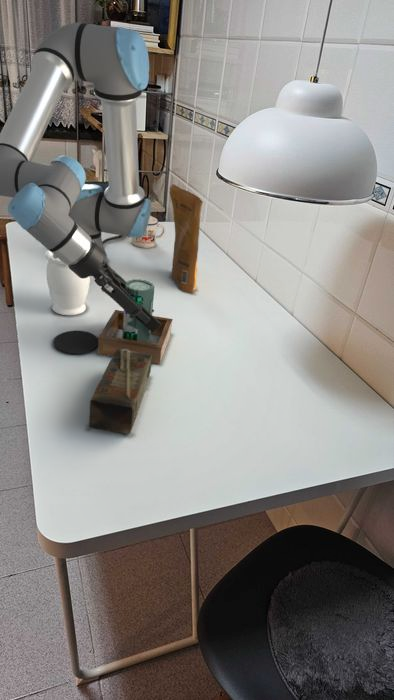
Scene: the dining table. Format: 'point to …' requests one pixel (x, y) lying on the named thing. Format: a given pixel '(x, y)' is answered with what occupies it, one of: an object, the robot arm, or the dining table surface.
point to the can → (144, 297)
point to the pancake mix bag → (185, 237)
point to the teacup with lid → (149, 234)
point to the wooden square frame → (111, 344)
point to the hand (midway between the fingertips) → (152, 320)
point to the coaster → (76, 342)
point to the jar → (65, 287)
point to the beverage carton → (120, 391)
